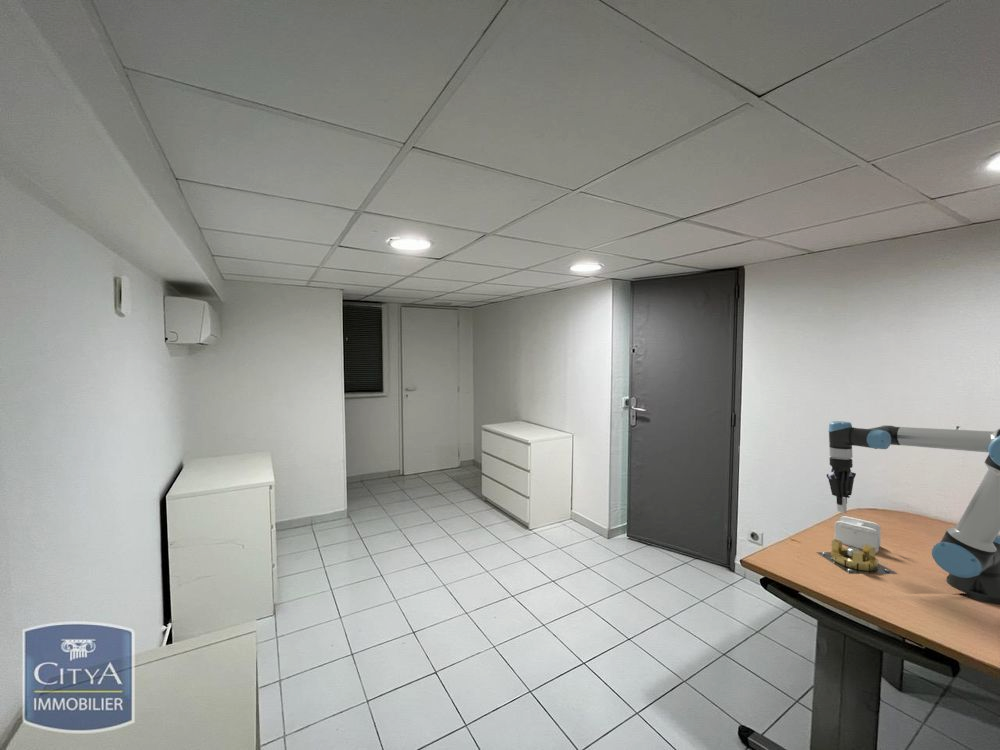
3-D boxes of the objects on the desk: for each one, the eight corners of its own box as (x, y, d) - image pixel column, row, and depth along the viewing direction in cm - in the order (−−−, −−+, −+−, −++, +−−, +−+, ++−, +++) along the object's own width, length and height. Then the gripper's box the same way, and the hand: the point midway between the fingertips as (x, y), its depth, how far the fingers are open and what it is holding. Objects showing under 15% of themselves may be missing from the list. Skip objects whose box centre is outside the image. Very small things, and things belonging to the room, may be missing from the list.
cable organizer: (883, 549, 180) (883, 524, 180) (877, 557, 174) (877, 530, 174) (841, 538, 193) (840, 514, 192) (833, 545, 186) (833, 520, 186)
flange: (896, 577, 158) (896, 560, 158) (848, 577, 159) (848, 559, 159) (858, 555, 176) (858, 539, 176) (816, 555, 177) (815, 539, 177)
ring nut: (866, 555, 172) (866, 540, 172) (886, 572, 158) (886, 556, 158) (825, 551, 176) (825, 536, 176) (842, 568, 163) (841, 551, 162)
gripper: (843, 454, 177) (845, 507, 177) (819, 456, 175) (821, 510, 175) (862, 458, 170) (863, 513, 170) (837, 460, 167) (838, 516, 168)
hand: (842, 511), depth 172 cm, fingers closed
